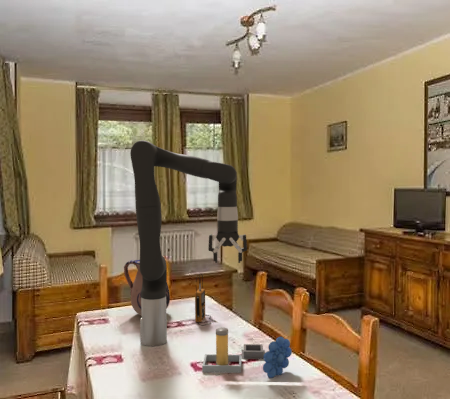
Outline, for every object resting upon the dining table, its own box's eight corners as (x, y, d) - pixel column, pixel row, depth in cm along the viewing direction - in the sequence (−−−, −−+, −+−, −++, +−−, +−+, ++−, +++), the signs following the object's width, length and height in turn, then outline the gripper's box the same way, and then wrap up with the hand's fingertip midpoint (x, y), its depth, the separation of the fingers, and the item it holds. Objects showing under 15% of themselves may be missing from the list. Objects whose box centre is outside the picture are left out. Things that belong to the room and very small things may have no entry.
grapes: (280, 366, 137) (280, 329, 137) (296, 373, 132) (296, 335, 132) (254, 376, 130) (253, 338, 130) (269, 384, 125) (269, 344, 124)
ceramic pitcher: (167, 320, 186) (166, 263, 185) (119, 320, 186) (117, 263, 185) (172, 308, 203) (171, 256, 202) (128, 309, 203) (127, 257, 203)
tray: (202, 374, 132) (202, 365, 132) (205, 362, 141) (205, 354, 141) (241, 375, 131) (240, 366, 131) (241, 363, 140) (241, 354, 140)
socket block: (241, 361, 142) (241, 352, 142) (241, 351, 150) (241, 343, 150) (265, 361, 141) (265, 352, 141) (264, 352, 149) (264, 343, 149)
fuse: (215, 369, 134) (215, 331, 134) (216, 364, 138) (216, 327, 138) (228, 369, 134) (227, 331, 134) (228, 364, 138) (228, 327, 137)
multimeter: (215, 326, 177) (215, 279, 176) (192, 325, 179) (192, 278, 178) (223, 316, 191) (222, 271, 190) (201, 314, 193) (201, 271, 192)
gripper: (207, 219, 154) (207, 264, 154) (246, 219, 153) (247, 264, 153) (209, 218, 161) (209, 260, 162) (246, 218, 160) (247, 260, 161)
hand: (227, 262), depth 157 cm, fingers open, 8 cm apart
